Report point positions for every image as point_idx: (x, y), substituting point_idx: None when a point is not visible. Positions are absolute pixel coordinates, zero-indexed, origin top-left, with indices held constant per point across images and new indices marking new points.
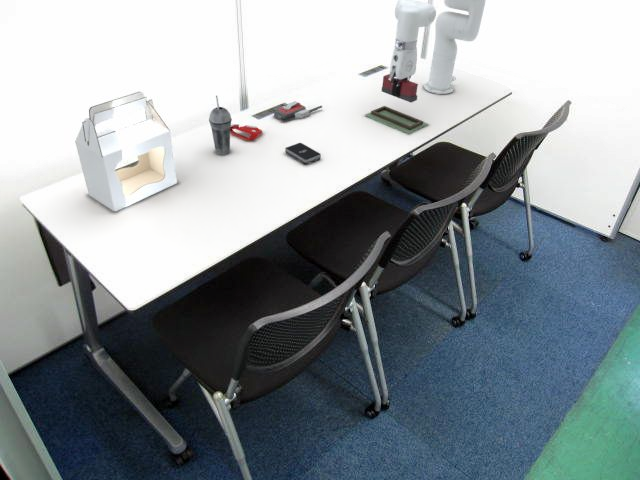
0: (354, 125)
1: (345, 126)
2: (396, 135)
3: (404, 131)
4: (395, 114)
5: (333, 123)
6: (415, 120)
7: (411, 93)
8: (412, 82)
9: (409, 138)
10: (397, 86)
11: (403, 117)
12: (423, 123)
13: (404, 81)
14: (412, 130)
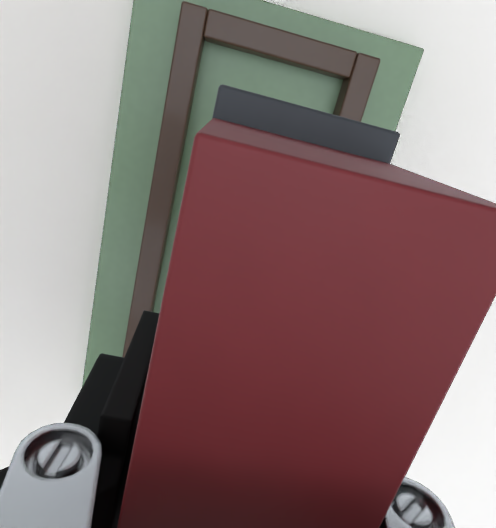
0: (449, 415)
1: (486, 443)
2: (478, 130)
3: (406, 97)
4: (156, 290)
5: (476, 500)
6: (193, 88)
7: (398, 169)
8: (196, 335)
9: (489, 8)
10: (426, 493)
11: (171, 215)
12: (164, 9)
13: (268, 513)
14: (362, 40)
